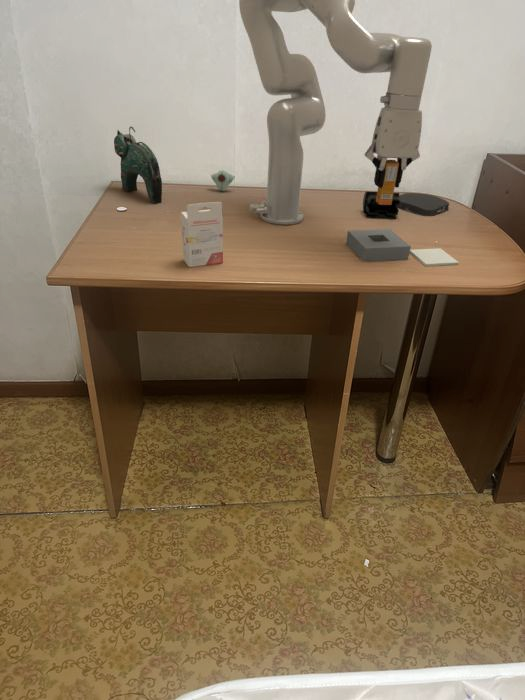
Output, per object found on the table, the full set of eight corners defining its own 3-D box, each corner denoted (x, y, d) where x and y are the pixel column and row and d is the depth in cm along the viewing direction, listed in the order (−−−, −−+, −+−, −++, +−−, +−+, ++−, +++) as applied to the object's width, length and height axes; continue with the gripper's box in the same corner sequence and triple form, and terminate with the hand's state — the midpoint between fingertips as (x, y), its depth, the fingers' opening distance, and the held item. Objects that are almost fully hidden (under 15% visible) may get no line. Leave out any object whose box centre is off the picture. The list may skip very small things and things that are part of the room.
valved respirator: (235, 190, 172) (235, 169, 168) (233, 194, 168) (234, 172, 165) (211, 188, 172) (211, 167, 168) (209, 192, 169) (209, 171, 165)
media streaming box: (412, 198, 175) (414, 189, 174) (452, 209, 167) (454, 200, 165) (388, 206, 167) (390, 197, 165) (428, 219, 158) (430, 209, 157)
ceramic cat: (116, 189, 166) (109, 122, 155) (134, 186, 170) (128, 120, 159) (150, 205, 155) (145, 134, 144) (168, 202, 158) (165, 132, 147)
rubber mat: (425, 266, 127) (426, 264, 126) (408, 252, 134) (409, 249, 134) (458, 264, 129) (458, 262, 128) (439, 250, 136) (440, 248, 136)
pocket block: (363, 261, 127) (365, 248, 125) (345, 243, 137) (347, 230, 135) (407, 259, 130) (410, 246, 128) (387, 241, 140) (390, 229, 138)
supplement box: (373, 200, 128) (382, 158, 122) (387, 201, 128) (396, 159, 123) (378, 204, 125) (387, 162, 120) (391, 205, 126) (401, 163, 120)
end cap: (393, 212, 161) (397, 190, 158) (398, 219, 155) (402, 197, 152) (361, 210, 161) (364, 188, 157) (365, 218, 155) (368, 195, 151)
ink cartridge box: (216, 255, 126) (216, 195, 118) (223, 263, 123) (223, 201, 114) (182, 259, 123) (179, 198, 115) (188, 267, 119) (186, 205, 111)
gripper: (374, 104, 109) (360, 191, 120) (444, 106, 113) (424, 190, 123) (361, 98, 115) (348, 181, 126) (428, 100, 119) (410, 181, 129)
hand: (386, 185), depth 124 cm, fingers closed on supplement box, 3 cm apart
